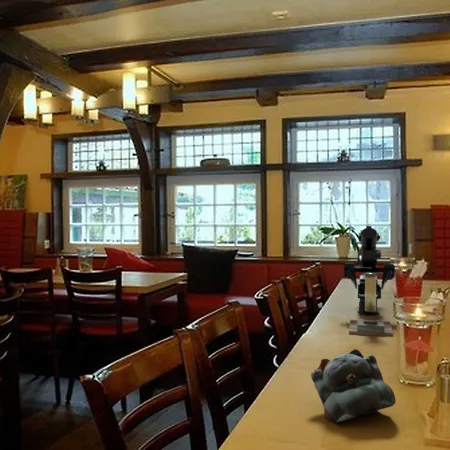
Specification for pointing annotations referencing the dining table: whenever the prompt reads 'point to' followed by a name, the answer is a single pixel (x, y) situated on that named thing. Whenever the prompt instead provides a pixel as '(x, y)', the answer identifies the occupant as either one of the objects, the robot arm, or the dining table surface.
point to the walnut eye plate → (354, 329)
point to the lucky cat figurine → (351, 386)
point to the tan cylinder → (370, 292)
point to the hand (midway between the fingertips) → (369, 288)
